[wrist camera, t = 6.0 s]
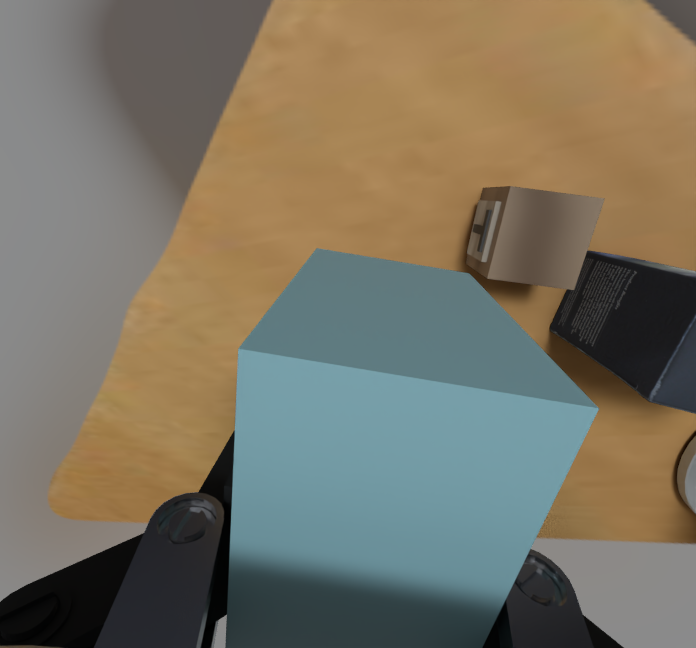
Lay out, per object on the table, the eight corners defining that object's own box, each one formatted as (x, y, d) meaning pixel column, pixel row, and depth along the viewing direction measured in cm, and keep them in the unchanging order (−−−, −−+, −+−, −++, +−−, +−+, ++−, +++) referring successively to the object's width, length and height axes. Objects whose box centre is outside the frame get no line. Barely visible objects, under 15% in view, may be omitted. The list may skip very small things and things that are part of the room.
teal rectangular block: (469, 273, 10) (598, 408, 4) (393, 541, 13) (407, 801, 8) (317, 248, 10) (237, 348, 4) (284, 522, 13) (220, 769, 8)
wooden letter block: (558, 197, 24) (604, 198, 20) (536, 272, 26) (573, 290, 21) (475, 186, 24) (502, 185, 20) (459, 262, 26) (479, 277, 21)
